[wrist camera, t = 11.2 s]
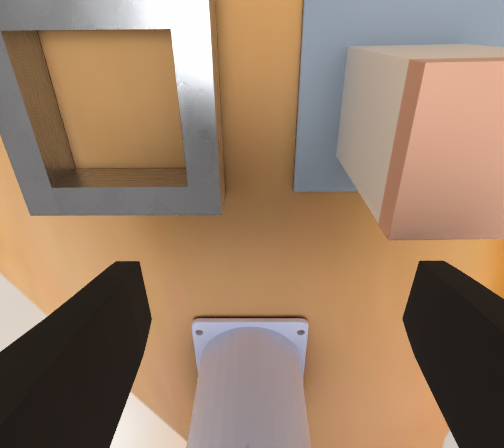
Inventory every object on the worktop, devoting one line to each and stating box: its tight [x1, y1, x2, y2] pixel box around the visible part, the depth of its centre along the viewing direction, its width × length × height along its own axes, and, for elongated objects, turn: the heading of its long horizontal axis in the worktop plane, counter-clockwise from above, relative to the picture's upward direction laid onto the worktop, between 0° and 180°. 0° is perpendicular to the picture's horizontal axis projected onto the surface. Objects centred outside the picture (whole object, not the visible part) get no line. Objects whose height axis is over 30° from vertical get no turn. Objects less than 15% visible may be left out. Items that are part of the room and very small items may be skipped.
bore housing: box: [0, 0, 225, 216], centre depth 16 cm, size 10×10×2 cm
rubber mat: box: [293, 0, 504, 192], centre depth 17 cm, size 9×9×1 cm
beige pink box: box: [336, 44, 504, 240], centre depth 13 cm, size 5×5×8 cm
